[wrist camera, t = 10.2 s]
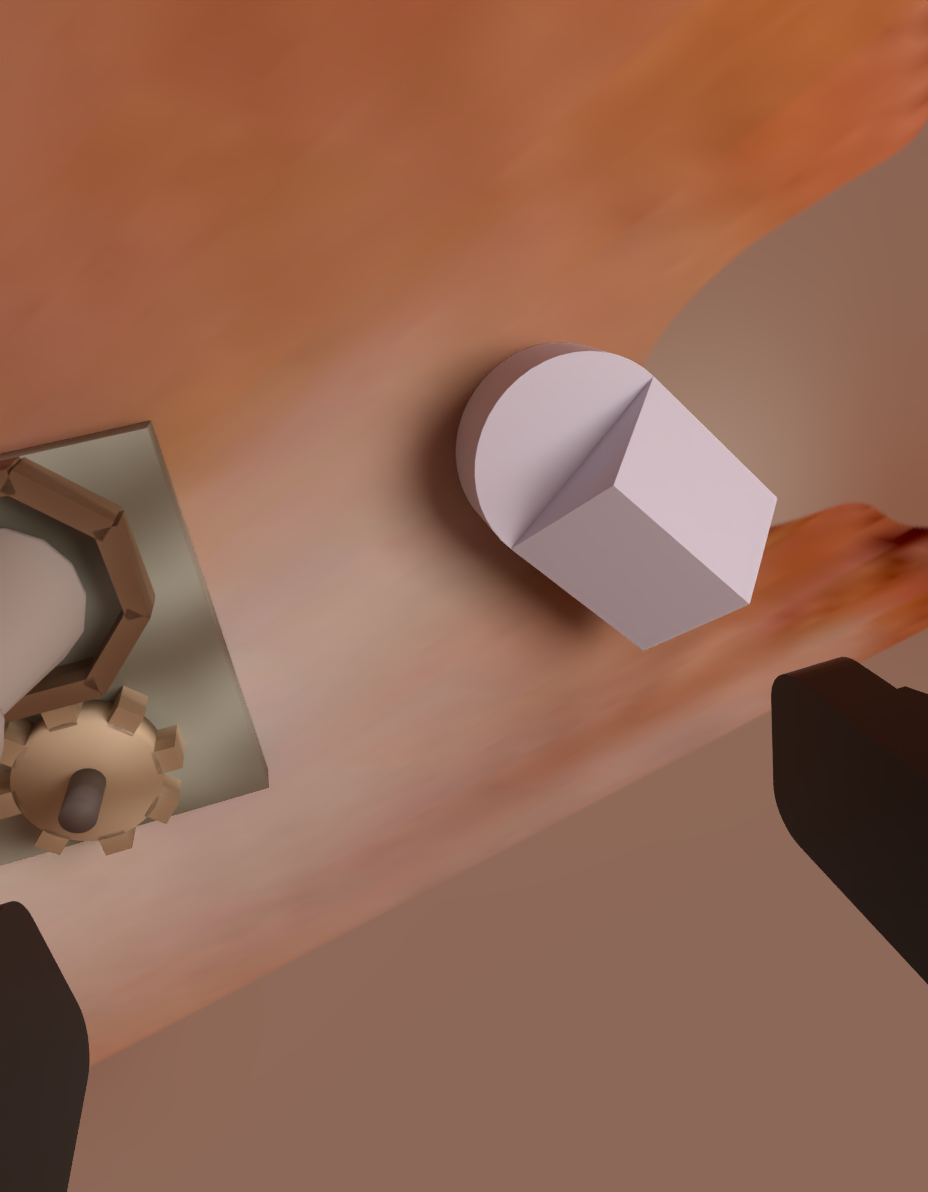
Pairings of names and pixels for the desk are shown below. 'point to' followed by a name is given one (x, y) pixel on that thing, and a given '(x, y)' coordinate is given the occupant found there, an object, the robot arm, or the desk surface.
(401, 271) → the desk surface
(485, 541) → the desk surface
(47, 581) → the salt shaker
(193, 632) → the peg board
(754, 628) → the desk surface
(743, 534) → the wedge on round base
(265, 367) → the desk surface
